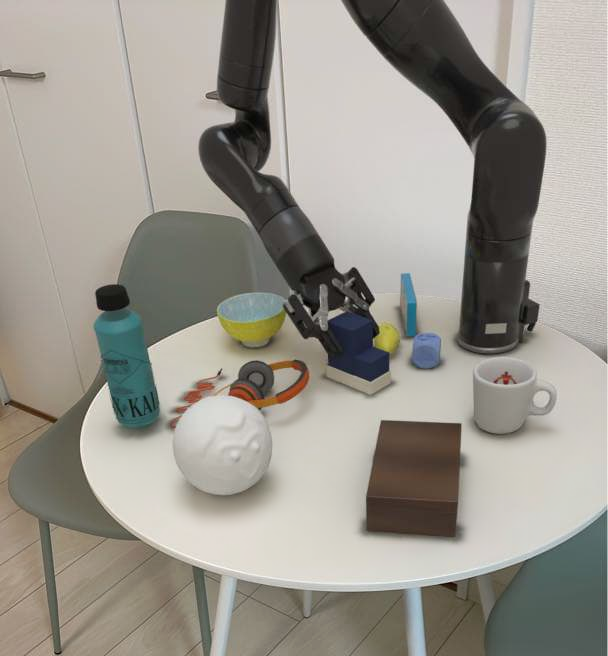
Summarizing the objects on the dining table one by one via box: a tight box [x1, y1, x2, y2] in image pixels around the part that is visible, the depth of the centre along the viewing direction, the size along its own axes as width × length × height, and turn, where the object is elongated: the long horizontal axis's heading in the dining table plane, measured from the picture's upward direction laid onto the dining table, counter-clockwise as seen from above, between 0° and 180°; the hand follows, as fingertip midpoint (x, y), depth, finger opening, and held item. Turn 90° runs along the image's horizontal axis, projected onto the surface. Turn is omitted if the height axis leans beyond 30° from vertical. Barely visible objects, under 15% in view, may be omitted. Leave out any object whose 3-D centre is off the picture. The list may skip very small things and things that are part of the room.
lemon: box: [373, 322, 401, 357], centre depth 119 cm, size 4×8×4 cm, turn 169°
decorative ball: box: [172, 394, 273, 496], centre depth 91 cm, size 12×12×12 cm
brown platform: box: [365, 419, 463, 538], centre depth 90 cm, size 16×10×5 cm, turn 170°
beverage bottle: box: [93, 283, 162, 428], centre depth 101 cm, size 6×7×20 cm
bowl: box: [216, 291, 287, 348], centre depth 123 cm, size 11×12×6 cm
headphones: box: [169, 358, 310, 429], centre depth 108 cm, size 17×5×20 cm
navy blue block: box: [325, 311, 392, 396], centre depth 110 cm, size 9×5×9 cm, turn 45°
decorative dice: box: [411, 332, 442, 369], centre depth 115 cm, size 4×4×4 cm
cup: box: [472, 356, 558, 435], centre depth 98 cm, size 11×8×8 cm
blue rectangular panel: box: [399, 272, 418, 338], centre depth 125 cm, size 12×2×6 cm, turn 179°
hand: (357, 346), depth 110 cm, fingers open, 7 cm apart
